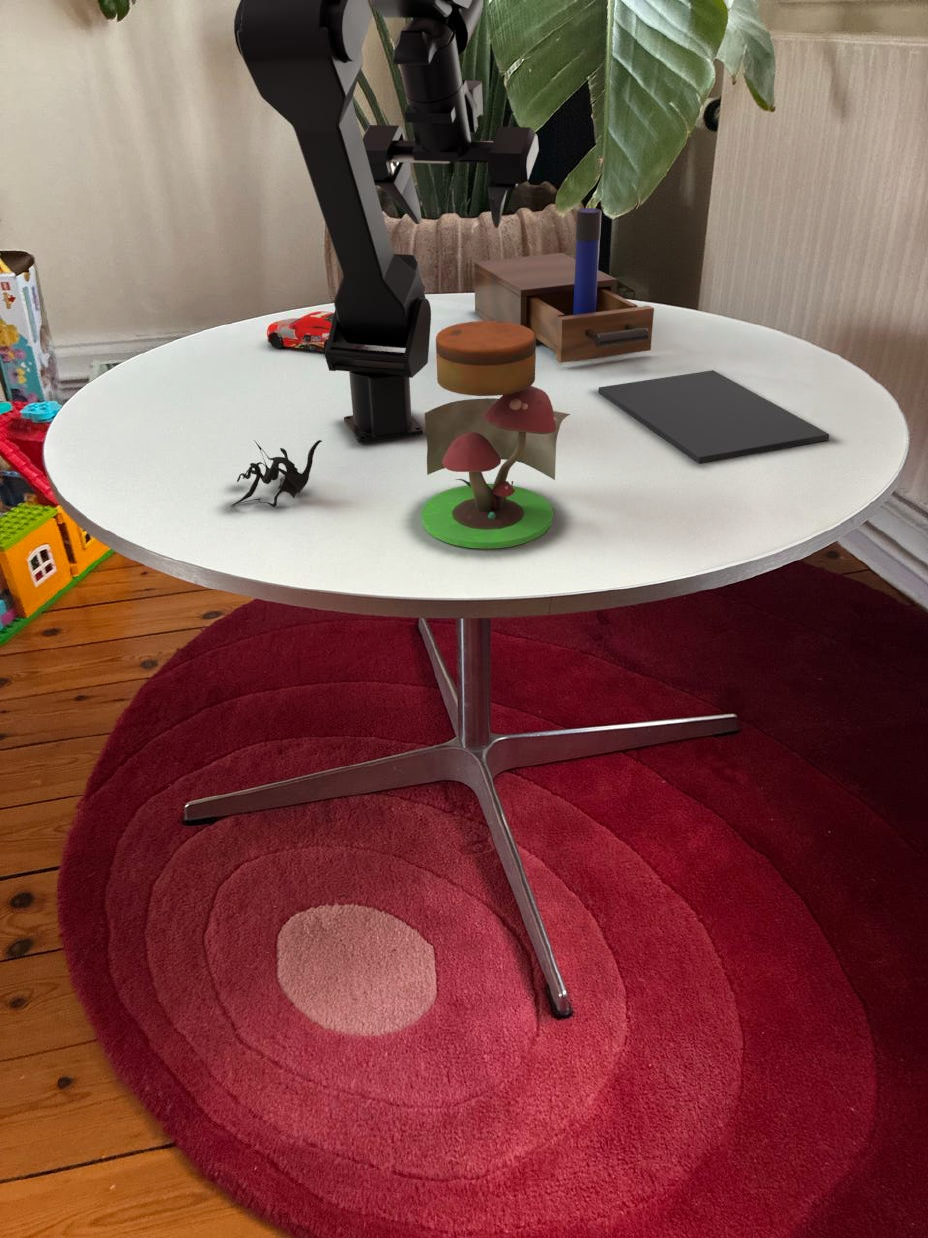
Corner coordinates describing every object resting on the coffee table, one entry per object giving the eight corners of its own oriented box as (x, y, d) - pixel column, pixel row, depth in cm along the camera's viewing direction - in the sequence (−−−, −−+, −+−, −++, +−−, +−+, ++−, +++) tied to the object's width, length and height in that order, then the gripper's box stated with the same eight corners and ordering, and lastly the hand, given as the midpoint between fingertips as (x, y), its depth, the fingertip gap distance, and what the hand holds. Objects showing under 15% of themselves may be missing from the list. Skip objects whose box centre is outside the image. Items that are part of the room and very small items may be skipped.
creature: (214, 516, 83) (281, 518, 78) (193, 456, 80) (261, 455, 76) (275, 482, 88) (341, 482, 84) (258, 425, 86) (324, 422, 81)
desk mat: (828, 439, 91) (829, 433, 91) (698, 463, 87) (699, 457, 87) (712, 375, 107) (713, 369, 107) (598, 392, 103) (598, 387, 103)
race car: (259, 347, 119) (254, 314, 117) (283, 335, 123) (279, 303, 121) (352, 359, 114) (349, 325, 112) (374, 346, 118) (372, 312, 116)
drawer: (667, 360, 109) (672, 316, 106) (575, 373, 106) (577, 329, 103) (594, 317, 123) (596, 278, 121) (511, 328, 120) (511, 288, 118)
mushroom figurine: (582, 548, 74) (593, 354, 66) (418, 556, 74) (408, 362, 66) (559, 483, 84) (565, 307, 76) (414, 489, 84) (405, 314, 76)
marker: (599, 334, 114) (605, 211, 106) (578, 337, 113) (583, 213, 106) (588, 328, 116) (594, 207, 109) (568, 330, 115) (572, 209, 108)
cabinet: (613, 333, 121) (617, 278, 117) (520, 345, 117) (520, 289, 114) (560, 302, 133) (562, 252, 129) (474, 313, 130) (474, 261, 126)
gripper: (544, 39, 97) (554, 180, 110) (369, 40, 102) (399, 176, 115) (518, 105, 91) (533, 245, 105) (335, 103, 96) (371, 237, 109)
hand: (457, 223), depth 108 cm, fingers open, 9 cm apart
